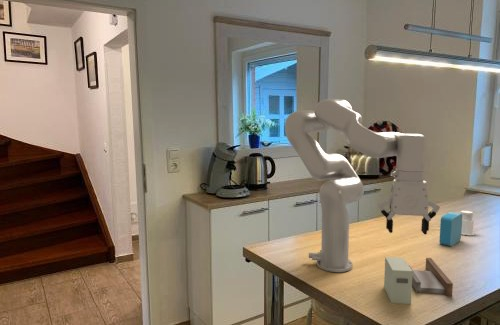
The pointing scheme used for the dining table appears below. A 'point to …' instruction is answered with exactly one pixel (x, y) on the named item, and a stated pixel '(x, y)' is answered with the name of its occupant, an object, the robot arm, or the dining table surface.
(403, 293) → the slotted sage box
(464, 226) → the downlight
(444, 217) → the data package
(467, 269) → the dining table surface
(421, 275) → the board
